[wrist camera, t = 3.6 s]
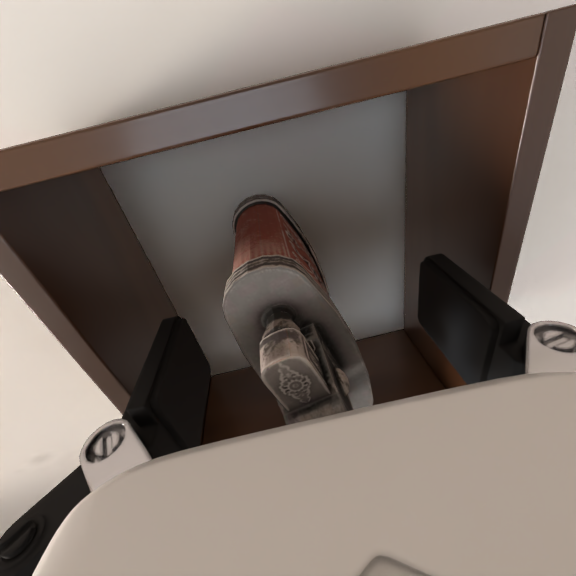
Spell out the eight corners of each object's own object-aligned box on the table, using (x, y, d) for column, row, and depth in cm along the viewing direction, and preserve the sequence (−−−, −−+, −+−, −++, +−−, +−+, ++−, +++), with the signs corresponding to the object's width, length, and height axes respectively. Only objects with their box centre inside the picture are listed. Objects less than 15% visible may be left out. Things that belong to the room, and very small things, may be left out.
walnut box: (203, 386, 20) (187, 489, 15) (64, 142, 12) (-92, 172, 6) (415, 334, 20) (478, 420, 15) (426, 51, 12) (584, 2, 6)
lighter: (217, 215, 14) (172, 374, 6) (278, 180, 14) (330, 299, 5) (290, 325, 18) (326, 511, 10) (339, 302, 18) (422, 477, 9)
